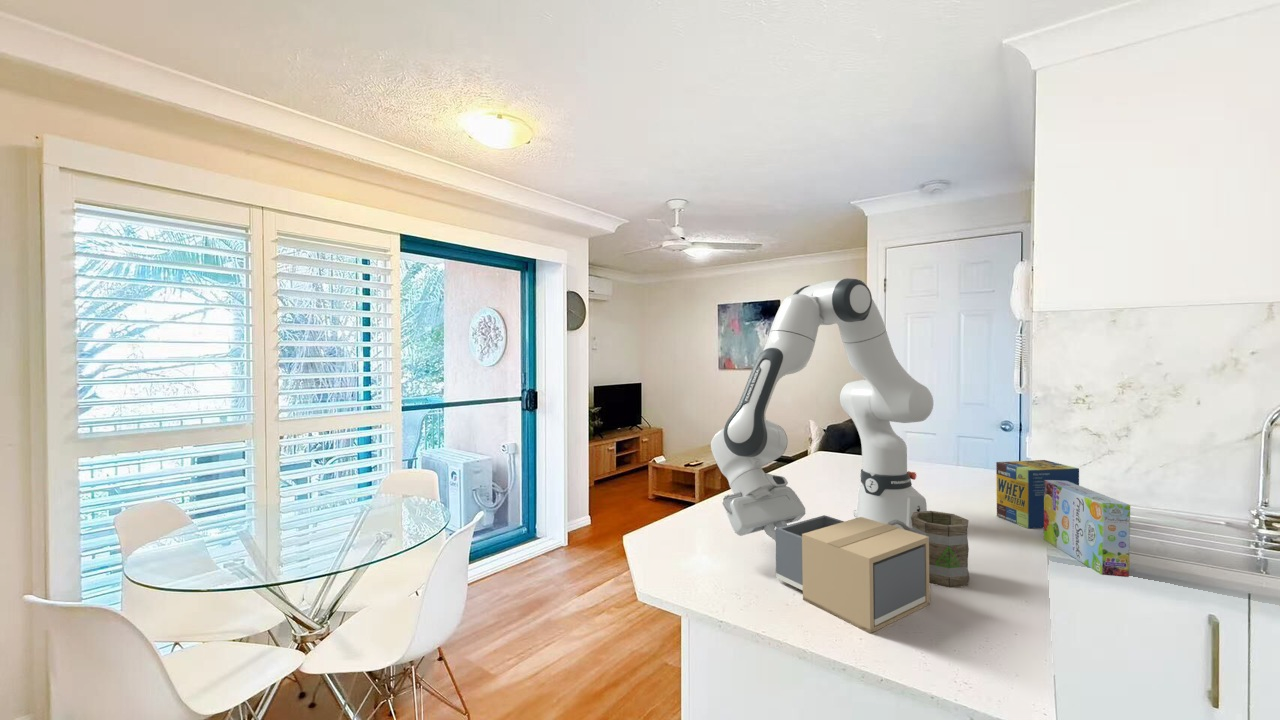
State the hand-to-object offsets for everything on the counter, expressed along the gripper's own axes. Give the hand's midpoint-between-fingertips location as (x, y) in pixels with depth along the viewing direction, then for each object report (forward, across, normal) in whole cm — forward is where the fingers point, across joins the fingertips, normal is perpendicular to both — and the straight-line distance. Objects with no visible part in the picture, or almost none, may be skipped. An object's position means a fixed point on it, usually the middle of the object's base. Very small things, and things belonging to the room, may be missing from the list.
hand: (785, 543), depth 111 cm
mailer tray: (+14, 0, -7) cm, 16 cm away
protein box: (+16, +79, -9) cm, 81 cm away
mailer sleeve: (+17, 0, -10) cm, 20 cm away
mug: (+17, +21, -10) cm, 29 cm away
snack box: (+27, +59, -20) cm, 68 cm away
